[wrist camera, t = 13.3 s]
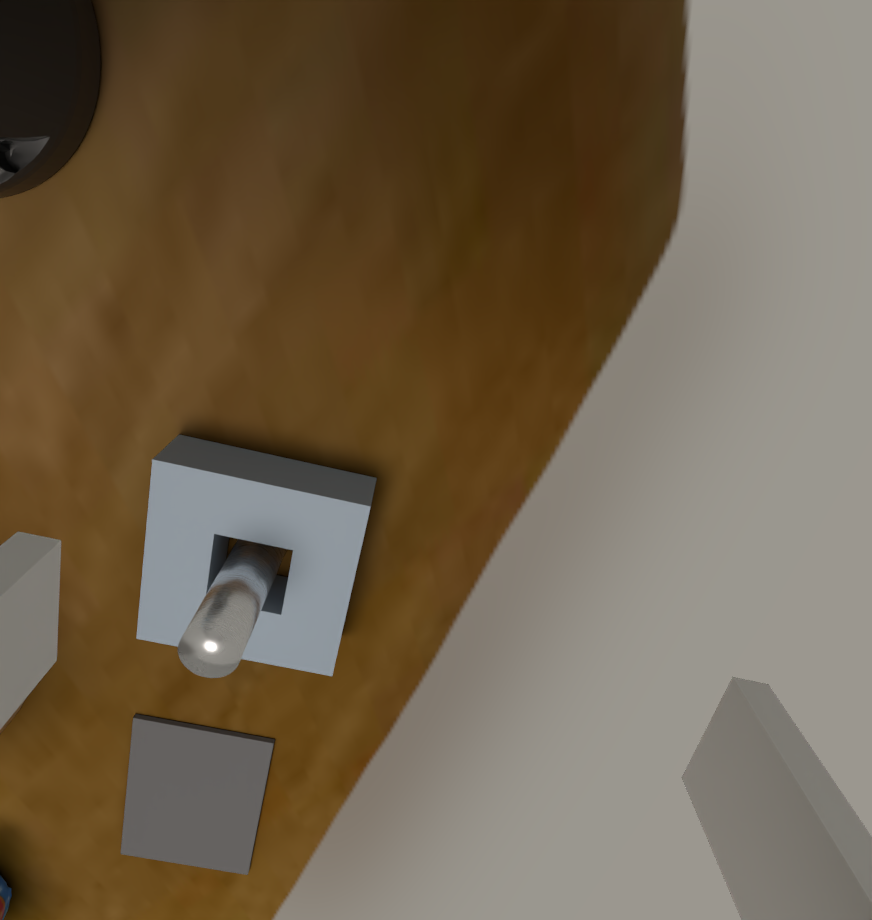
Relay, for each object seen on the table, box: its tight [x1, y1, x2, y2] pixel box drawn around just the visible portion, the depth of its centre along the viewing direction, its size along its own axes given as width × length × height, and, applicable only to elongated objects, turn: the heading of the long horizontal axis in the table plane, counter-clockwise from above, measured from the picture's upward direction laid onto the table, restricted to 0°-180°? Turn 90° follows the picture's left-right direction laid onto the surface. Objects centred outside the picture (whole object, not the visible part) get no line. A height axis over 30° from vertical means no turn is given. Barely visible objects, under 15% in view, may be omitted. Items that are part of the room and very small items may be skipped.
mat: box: [121, 714, 275, 875], centre depth 50 cm, size 10×14×1 cm
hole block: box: [136, 435, 377, 676], centre depth 40 cm, size 12×12×4 cm
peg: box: [178, 539, 287, 678], centre depth 37 cm, size 3×3×11 cm
